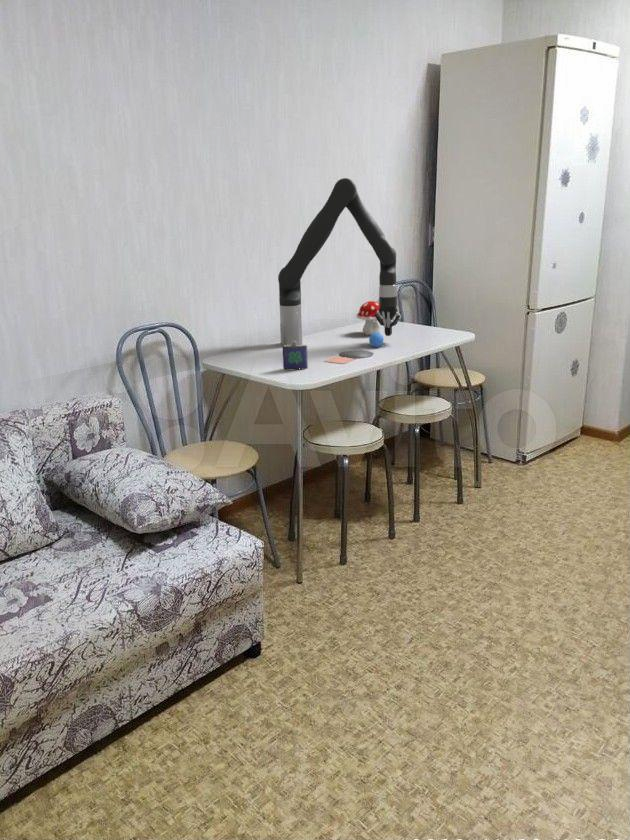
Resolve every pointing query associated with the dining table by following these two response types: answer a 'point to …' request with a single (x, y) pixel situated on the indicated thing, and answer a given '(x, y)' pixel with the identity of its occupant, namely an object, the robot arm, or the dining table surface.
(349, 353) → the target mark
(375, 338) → the ball
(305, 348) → the flask
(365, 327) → the decorative mushroom
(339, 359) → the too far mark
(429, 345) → the dining table surface
